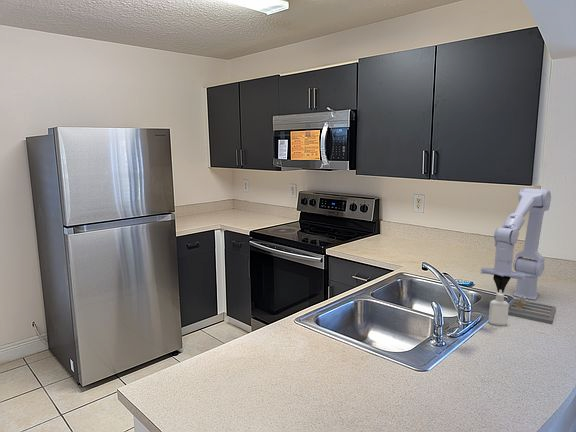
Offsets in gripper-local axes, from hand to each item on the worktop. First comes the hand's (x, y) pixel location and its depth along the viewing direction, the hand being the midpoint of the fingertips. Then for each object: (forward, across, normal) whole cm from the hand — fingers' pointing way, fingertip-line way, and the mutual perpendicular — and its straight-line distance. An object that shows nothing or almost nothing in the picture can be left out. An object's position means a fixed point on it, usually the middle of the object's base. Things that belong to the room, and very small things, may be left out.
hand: (500, 295), depth 152 cm
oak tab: (+4, +6, 0) cm, 7 cm away
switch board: (+5, +10, +4) cm, 12 cm away
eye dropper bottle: (+6, +2, -15) cm, 16 cm away
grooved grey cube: (+4, +7, +7) cm, 10 cm away
